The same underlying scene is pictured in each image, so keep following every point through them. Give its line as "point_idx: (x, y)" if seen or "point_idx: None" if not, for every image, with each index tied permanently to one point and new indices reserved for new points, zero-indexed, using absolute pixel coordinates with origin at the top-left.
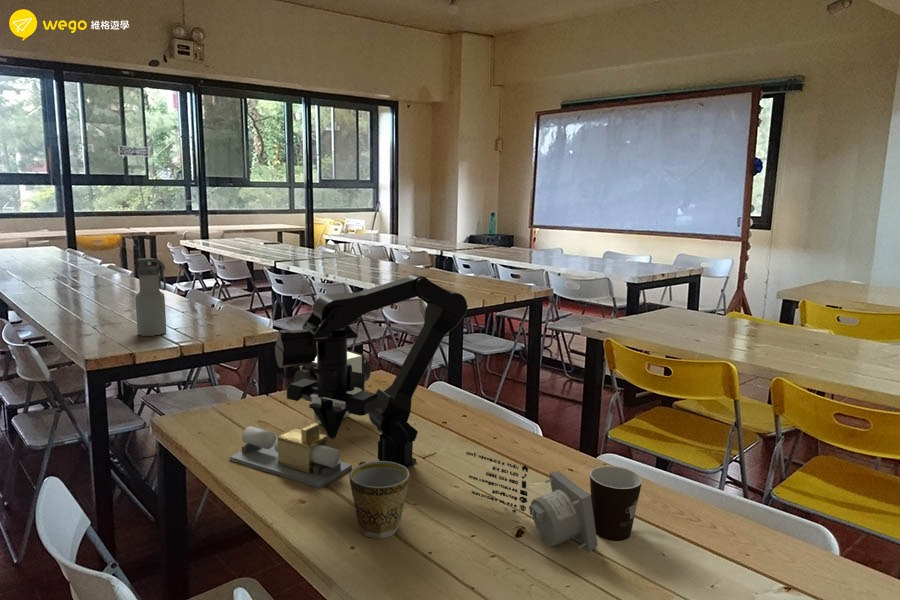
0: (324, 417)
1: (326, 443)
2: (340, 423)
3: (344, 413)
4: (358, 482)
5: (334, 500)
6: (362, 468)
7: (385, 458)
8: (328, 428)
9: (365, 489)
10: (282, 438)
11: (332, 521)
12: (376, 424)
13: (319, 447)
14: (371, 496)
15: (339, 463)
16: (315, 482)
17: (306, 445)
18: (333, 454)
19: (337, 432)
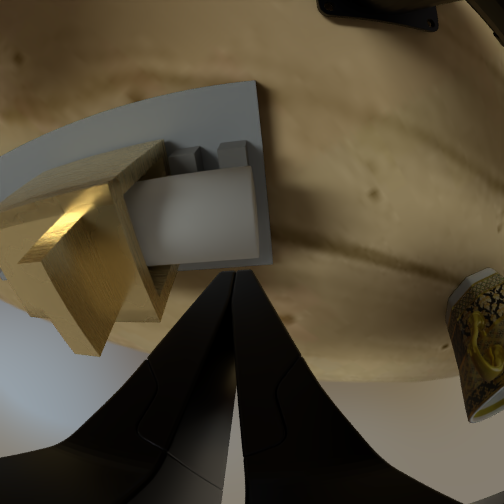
0: (223, 479)
1: (130, 177)
2: (295, 350)
3: (364, 455)
4: (472, 374)
5: (353, 279)
6: (490, 388)
7: (380, 3)
8: (235, 379)
9: (494, 408)
10: (45, 317)
11: (392, 329)
12: (483, 3)
13: (165, 254)
14: (499, 393)
15: (245, 154)
16: (251, 264)
17: (148, 320)
18: (255, 230)
19: (262, 290)
